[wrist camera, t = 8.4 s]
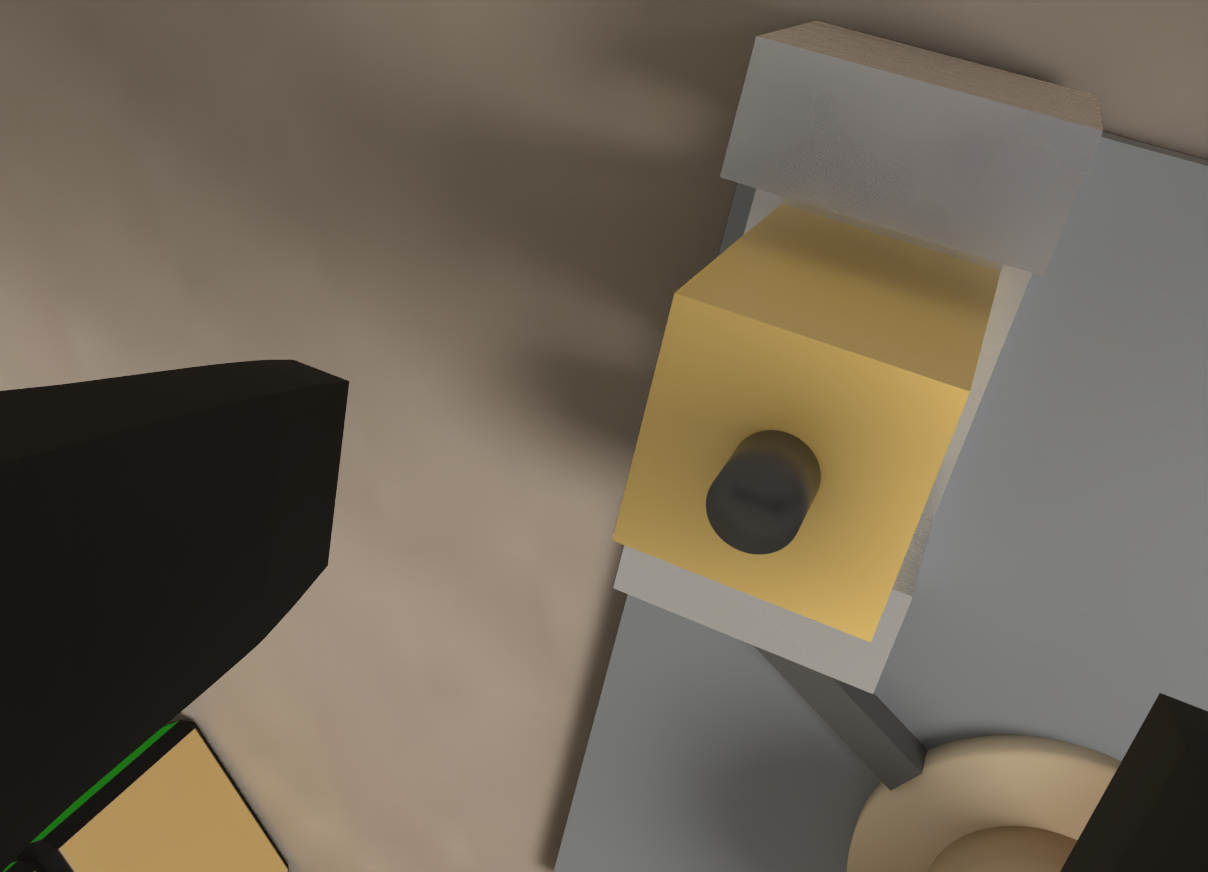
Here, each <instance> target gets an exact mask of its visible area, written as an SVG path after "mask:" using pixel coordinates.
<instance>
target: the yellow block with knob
mask: <svg viewBox="0 0 1208 872" xmlns="http://www.w3.org/2000/svg"><path fill="white" fill-rule="evenodd" d="M1000 273H1001V271H998V270H994V269H991V268H988V267H985V266H981V265H978V264H975V263H972V262H968V261H965V260H962V259H959V258H955V257H952V256H949V255H946V254H942V253H939V252H936V251H933V250H929V249H926V248H923V247H920V246H916V245H913V244H910V243H907V242H903V241H900V240H897V239H893V238H890V237H887V236H884V235H880V234H877V233H874V232H871V231H867V230H864V229H861V228H858V227H854V226H851V225H848V224H845V223H841V222H838V221H835V220H832V219H828V218H825V217H822V216H819V215H815V214H812V213H809V212H806V211H802V210H799V209H796V208H793V207H789V206H786V205H783V204H780V205H779V206H778V207H777V208H775V209H774V210H773V211H772V212H771V213H769V214H768V215H767V216H766V217H765V218H763V219H762V220H761V221H760V222H759V223H757V224H756V225H755V226H754V227H753V228H751V229H750V230H749V231H748V232H747V233H745V234H744V235H743V236H742V237H741V238H739V239H738V240H737V241H736V242H735V243H734V244H732V245H731V246H730V247H729V248H728V249H726V250H725V251H724V252H723V253H722V254H720V255H719V256H718V257H717V258H716V259H714V260H713V261H712V262H711V263H710V264H708V265H707V266H706V267H705V268H704V269H702V270H701V271H700V272H699V273H698V274H696V275H695V276H694V277H693V278H692V279H690V280H689V281H688V282H687V283H686V284H684V285H683V286H682V287H681V288H680V289H679V290H677V291H676V292H675V293H674V297H673V301H672V305H671V309H670V313H669V317H668V321H667V325H666V329H665V333H664V337H663V341H662V345H661V349H660V353H659V357H658V361H657V364H656V368H655V372H654V376H653V380H652V384H651V388H650V392H649V396H648V400H647V404H646V408H645V412H644V416H643V420H642V424H641V428H640V432H639V436H638V440H637V444H636V448H635V452H634V456H633V460H632V464H631V468H630V472H629V476H628V480H627V484H626V488H625V492H624V496H623V500H622V504H621V507H620V511H619V515H618V519H617V523H616V527H615V531H614V535H613V539H612V540H613V541H615V542H618V543H620V544H623V545H626V546H628V547H631V548H633V549H636V550H638V551H641V552H643V553H646V554H648V555H651V556H653V557H656V558H658V559H661V560H663V561H666V562H668V563H671V564H674V565H676V566H679V567H681V568H684V569H686V570H689V571H691V572H694V573H696V574H699V575H701V576H704V577H706V578H709V579H711V580H714V581H716V582H719V583H722V584H724V585H727V586H729V587H732V588H734V589H737V590H739V591H742V592H744V593H747V594H749V595H752V596H754V597H757V598H759V599H762V600H765V601H767V602H770V603H772V604H775V605H777V606H780V607H782V608H785V609H787V610H790V611H792V612H795V613H797V614H800V615H802V616H805V617H807V618H810V619H813V620H815V621H818V622H820V623H823V624H825V625H828V626H830V627H833V628H835V629H838V630H840V631H843V632H845V633H848V634H850V635H853V636H855V637H858V638H861V639H863V640H866V641H868V642H871V641H872V638H873V636H874V633H875V631H876V628H877V626H878V623H879V621H880V618H881V616H882V613H883V611H884V608H885V605H886V603H887V600H888V598H889V595H890V593H891V590H892V588H893V585H894V583H895V580H896V578H897V575H898V573H899V570H900V568H901V565H902V563H903V560H904V557H905V555H906V552H907V550H908V547H909V545H910V542H911V540H912V537H913V535H914V532H915V530H916V527H917V525H918V522H919V520H920V517H921V514H922V512H923V509H924V507H925V504H926V502H927V499H928V497H929V494H930V492H931V489H932V487H933V484H934V482H935V479H936V477H937V474H938V472H939V469H940V466H941V464H942V461H943V459H944V456H945V454H946V451H947V449H948V446H949V444H950V441H951V439H952V436H953V434H954V431H955V429H956V426H957V424H958V421H959V418H960V416H961V413H962V411H963V408H964V406H965V403H966V401H967V398H968V396H969V393H970V390H971V386H972V382H973V378H974V374H975V371H976V367H977V363H978V359H979V355H980V351H981V347H982V343H983V339H984V335H985V332H986V328H987V324H988V320H989V316H990V312H991V308H992V304H993V300H994V296H995V292H996V289H997V285H998V281H999V277H1000Z"/></svg>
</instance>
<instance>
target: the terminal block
mask: <svg viewBox="0 0 1208 872" xmlns="http://www.w3.org/2000/svg"><path fill="white" fill-rule="evenodd" d="M1102 133H1103V124H1102V115H1101V106H1100V97H1099V96H1098V95H1095V94H1091V93H1087V92H1083V91H1080V90H1076V89H1072V88H1068V87H1064V86H1061V85H1057V84H1053V83H1049V82H1046V81H1042V80H1038V79H1034V78H1031V77H1027V76H1023V75H1019V74H1016V73H1012V72H1008V71H1004V70H1001V69H997V68H993V67H989V66H985V65H982V64H978V63H974V62H970V61H967V60H963V59H959V58H955V57H952V56H948V55H944V54H940V53H937V52H933V51H929V50H925V49H921V48H918V47H914V46H910V45H906V44H903V43H899V42H895V41H891V40H888V39H884V38H880V37H876V36H873V35H869V34H865V33H861V32H858V31H854V30H850V29H846V28H842V27H839V26H835V25H831V24H827V23H824V22H820V21H813V22H809V23H805V24H801V25H797V26H793V27H789V28H786V29H782V30H778V31H774V32H770V33H766V34H763V35H759V36H756V39H755V43H754V47H753V51H752V54H751V58H750V62H749V66H748V70H747V74H746V78H745V81H744V85H743V89H742V93H741V97H740V101H739V105H738V108H737V112H736V116H735V120H734V124H733V128H732V132H731V135H730V139H729V143H728V147H727V151H726V155H725V159H724V162H723V166H722V170H721V174H720V177H721V178H724V179H727V180H730V181H734V182H737V183H740V184H743V185H747V186H750V187H753V188H756V191H755V195H754V199H753V202H752V206H751V210H750V213H749V217H748V220H747V224H746V228H745V231H744V234H745V233H747V232H748V231H749V230H750V229H751V228H753V227H754V226H755V225H756V224H757V223H759V222H760V221H761V220H762V219H763V218H765V217H766V216H767V215H768V214H769V213H771V212H772V211H773V210H774V209H775V208H777V207H778V206H779V205H780V204H783V205H786V206H789V207H793V208H796V209H799V210H802V211H806V212H809V213H812V214H815V215H819V216H822V217H825V218H828V219H832V220H835V221H838V222H841V223H845V224H848V225H851V226H854V227H858V228H861V229H864V230H867V231H871V232H874V233H877V234H880V235H884V236H887V237H890V238H893V239H897V240H900V241H903V242H907V243H910V244H913V245H916V246H920V247H923V248H926V249H929V250H933V251H936V252H939V253H942V254H946V255H949V256H952V257H955V258H959V259H962V260H965V261H968V262H972V263H975V264H978V265H981V266H985V267H988V268H991V269H994V270H998V271H1001V273H1000V277H999V281H998V285H997V289H996V292H995V296H994V300H993V304H992V308H991V312H990V316H989V320H988V324H987V328H986V332H985V335H984V339H983V343H982V347H981V351H980V355H979V359H978V363H977V367H976V371H975V374H974V378H973V382H972V386H971V390H970V393H969V396H968V398H967V401H966V403H965V406H964V408H963V411H962V413H961V416H960V418H959V421H958V424H957V426H956V429H955V431H954V434H953V436H952V439H951V441H950V444H949V446H948V449H947V451H946V454H945V456H944V459H943V461H942V464H941V466H940V469H939V472H938V474H937V477H936V479H935V482H934V484H933V487H932V489H931V492H930V494H929V497H928V499H927V502H926V504H925V507H924V509H923V512H922V514H921V517H920V520H919V522H918V525H917V527H916V530H915V532H914V535H913V537H912V540H911V542H910V545H909V547H908V550H907V552H906V555H905V557H904V560H903V563H902V565H901V568H900V570H899V573H898V575H897V578H896V580H895V583H894V585H893V588H892V590H891V593H890V595H889V598H888V600H887V603H886V605H885V608H884V611H883V613H882V616H881V618H880V621H879V623H878V626H877V628H876V631H875V633H874V636H873V638H872V641H871V642H868V641H866V640H863V639H861V638H858V637H855V636H853V635H850V634H848V633H845V632H843V631H840V630H838V629H835V628H833V627H830V626H828V625H825V624H823V623H820V622H818V621H815V620H813V619H810V618H807V617H805V616H802V615H800V614H797V613H795V612H792V611H790V610H787V609H785V608H782V607H780V606H777V605H775V604H772V603H770V602H767V601H765V600H762V599H759V598H757V597H754V596H752V595H749V594H747V593H744V592H742V591H739V590H737V589H734V588H732V587H729V586H727V585H724V584H722V583H719V582H716V581H714V580H711V579H709V578H706V577H704V576H701V575H699V574H696V573H694V572H691V571H689V570H686V569H684V568H681V567H679V566H676V565H674V564H671V563H668V562H666V561H663V560H661V559H658V558H656V557H653V556H651V555H648V554H646V553H643V552H641V551H638V550H636V549H633V548H631V547H628V546H626V545H624V548H623V552H622V556H621V560H620V564H619V568H618V571H617V575H616V579H615V583H614V587H613V588H614V589H616V590H619V591H621V592H624V593H626V594H628V595H631V596H633V597H636V598H638V599H641V600H643V601H646V602H648V603H651V604H653V605H655V606H658V607H660V608H663V609H665V610H668V611H670V612H673V613H675V614H678V615H680V616H682V617H685V618H687V619H690V620H692V621H695V622H697V623H700V624H702V625H705V626H707V627H709V628H712V629H714V630H717V631H719V632H722V633H724V634H727V635H729V636H732V637H734V638H736V639H739V640H741V641H744V642H746V643H749V644H751V645H754V646H756V647H758V648H761V649H763V650H766V651H768V652H771V653H773V654H776V655H778V656H781V657H783V658H785V659H788V660H790V661H793V662H795V663H798V664H800V665H803V666H805V667H808V668H810V669H812V670H815V671H817V672H820V673H822V674H825V675H827V676H830V677H832V678H835V679H837V680H839V681H842V682H844V683H847V684H849V685H852V686H854V687H857V688H859V689H862V690H864V691H866V692H869V693H871V694H873V693H874V691H875V688H876V686H877V683H878V681H879V678H880V676H881V674H882V671H883V669H884V666H885V664H886V661H887V659H888V656H889V654H890V651H891V649H892V647H893V644H894V642H895V639H896V637H897V634H898V632H899V629H900V627H901V625H902V622H903V620H904V617H905V615H906V612H907V610H908V607H909V605H910V603H911V600H912V598H913V594H914V590H915V587H916V583H917V579H918V575H919V571H920V568H921V564H922V560H923V556H924V553H925V549H926V545H927V541H928V537H929V534H930V530H931V526H932V522H933V518H934V515H935V513H936V511H937V508H938V506H939V503H940V501H941V498H942V496H943V493H944V491H945V488H946V486H947V483H948V481H949V478H950V476H951V473H952V471H953V468H954V466H955V463H956V461H957V458H958V456H959V453H960V451H961V449H962V446H963V444H964V441H965V439H966V436H967V434H968V431H969V429H970V426H971V424H972V421H973V419H974V416H975V414H976V411H977V409H978V406H979V404H980V401H981V399H982V396H983V394H984V391H985V389H986V387H987V384H988V382H989V379H990V377H991V374H992V372H993V369H994V367H995V364H996V362H997V359H998V357H999V354H1000V352H1001V349H1002V347H1003V344H1004V342H1005V339H1006V337H1007V334H1008V332H1009V329H1010V327H1011V325H1012V322H1013V320H1014V317H1015V315H1016V312H1017V310H1018V307H1019V305H1020V302H1021V300H1022V297H1023V295H1024V292H1025V290H1026V287H1027V285H1028V282H1029V280H1030V277H1031V275H1032V273H1034V274H1037V275H1040V276H1044V275H1045V272H1046V270H1047V267H1048V265H1049V262H1050V260H1051V258H1052V255H1053V253H1054V250H1055V248H1056V245H1057V243H1058V240H1059V238H1060V236H1061V233H1062V231H1063V228H1064V226H1065V223H1066V221H1067V218H1068V216H1069V214H1070V211H1071V209H1072V206H1073V204H1074V201H1075V199H1076V196H1077V194H1078V191H1079V189H1080V187H1081V184H1082V182H1083V179H1084V177H1085V174H1086V172H1087V169H1088V167H1089V165H1090V162H1091V160H1092V157H1093V155H1094V152H1095V150H1096V147H1097V145H1098V143H1099V140H1100V138H1101V135H1102Z"/></svg>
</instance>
